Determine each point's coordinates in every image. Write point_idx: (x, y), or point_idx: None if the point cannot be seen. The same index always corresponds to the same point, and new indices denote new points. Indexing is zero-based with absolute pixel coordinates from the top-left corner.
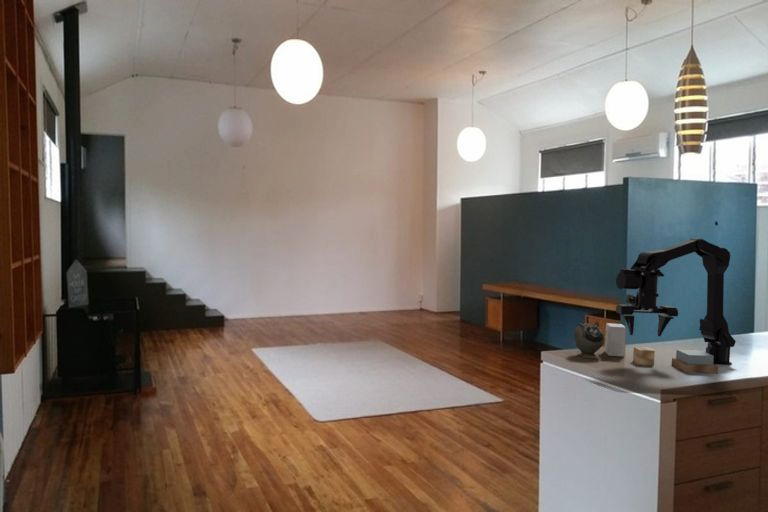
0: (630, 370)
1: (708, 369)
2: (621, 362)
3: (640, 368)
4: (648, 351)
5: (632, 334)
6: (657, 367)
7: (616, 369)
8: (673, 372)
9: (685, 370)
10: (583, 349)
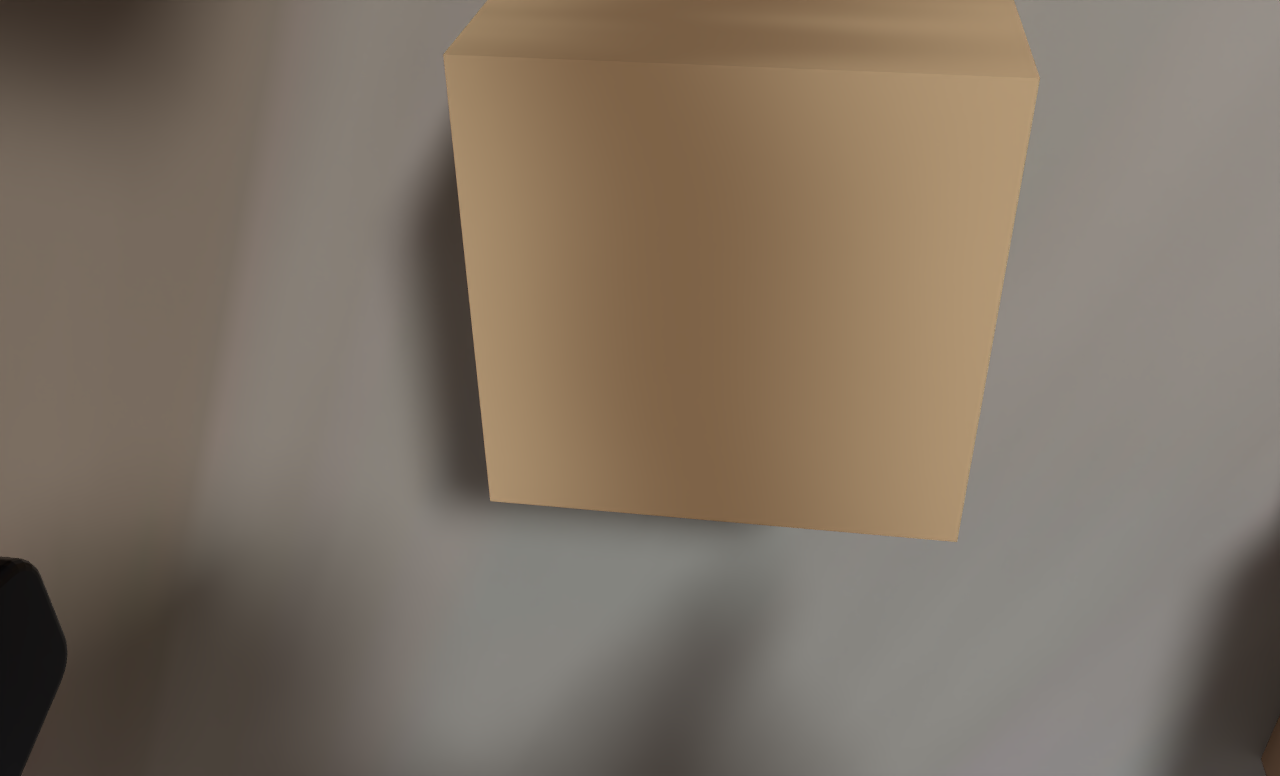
0: (274, 669)
1: None
2: (216, 119)
3: (491, 560)
4: (759, 503)
5: (39, 707)
6: None
7: (60, 625)
8: (995, 761)
9: (1274, 772)
10: None
